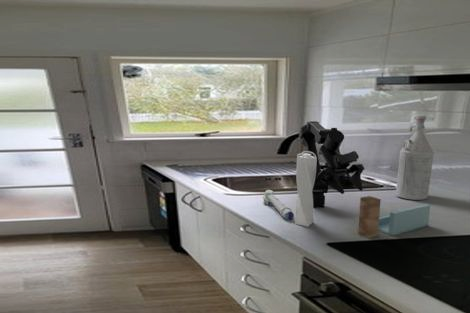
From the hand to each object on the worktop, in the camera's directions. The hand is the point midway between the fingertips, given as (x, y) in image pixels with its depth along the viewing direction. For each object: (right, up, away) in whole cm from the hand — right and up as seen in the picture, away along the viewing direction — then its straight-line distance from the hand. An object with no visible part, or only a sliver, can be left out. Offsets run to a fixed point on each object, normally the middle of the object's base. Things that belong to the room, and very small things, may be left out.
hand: (352, 191), depth 118 cm
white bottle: (+43, -7, +41) cm, 60 cm away
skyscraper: (-16, -13, +6) cm, 22 cm away
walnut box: (+4, -14, -5) cm, 15 cm away
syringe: (-25, -10, +21) cm, 34 cm away
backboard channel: (+18, -13, +3) cm, 23 cm away
